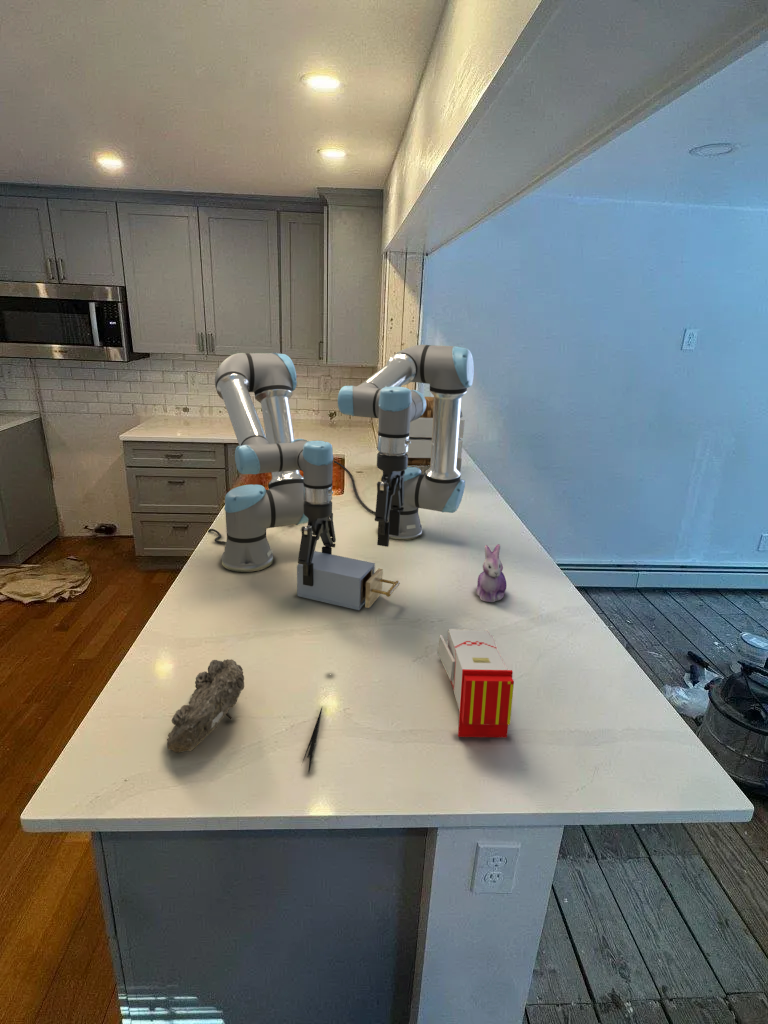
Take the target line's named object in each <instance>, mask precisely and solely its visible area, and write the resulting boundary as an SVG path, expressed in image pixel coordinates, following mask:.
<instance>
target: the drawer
mask: <svg viewBox="0 0 768 1024" xmlns="http://www.w3.org/2000/svg"><path fill="white" fill-rule="evenodd" d="M372 570H373V569H372ZM372 570H371V571H370V572H369V573H368V574H367V575H366V576H365V577H364V578H363V579H362V580H361V603H362V602H363V601H364V599H365V604H364V608H367V609H370V608H371V607H372V606H373V604H374V603H375V602H376V601H377V599H378V598H379V597H380V596H381V595H385V596H386V597H387V598H390V597H392V595H393V594H394V592H395V591H396V590H397V588H398V587H399V586H400V584H401V581H399V580H395V581H394V580H389V579H384V578H383V577H384V575H383V573H384V569H383V568H377V569H376V570H375V572H374V574H373V575H372ZM383 583H385V584H390V585H391V586H390V587H389V589H388V590H387V591H384V590H383Z"/></svg>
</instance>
